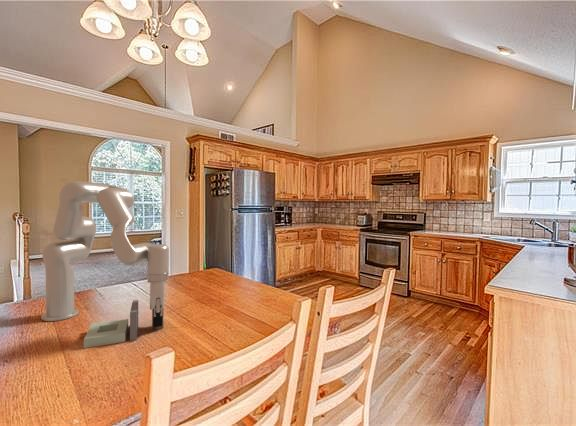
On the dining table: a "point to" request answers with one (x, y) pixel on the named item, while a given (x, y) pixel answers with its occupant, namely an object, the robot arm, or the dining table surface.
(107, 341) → the socket block
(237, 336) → the dining table surface
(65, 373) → the dining table surface
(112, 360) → the dining table surface
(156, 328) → the walnut peg
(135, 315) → the low wall
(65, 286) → the robot arm
